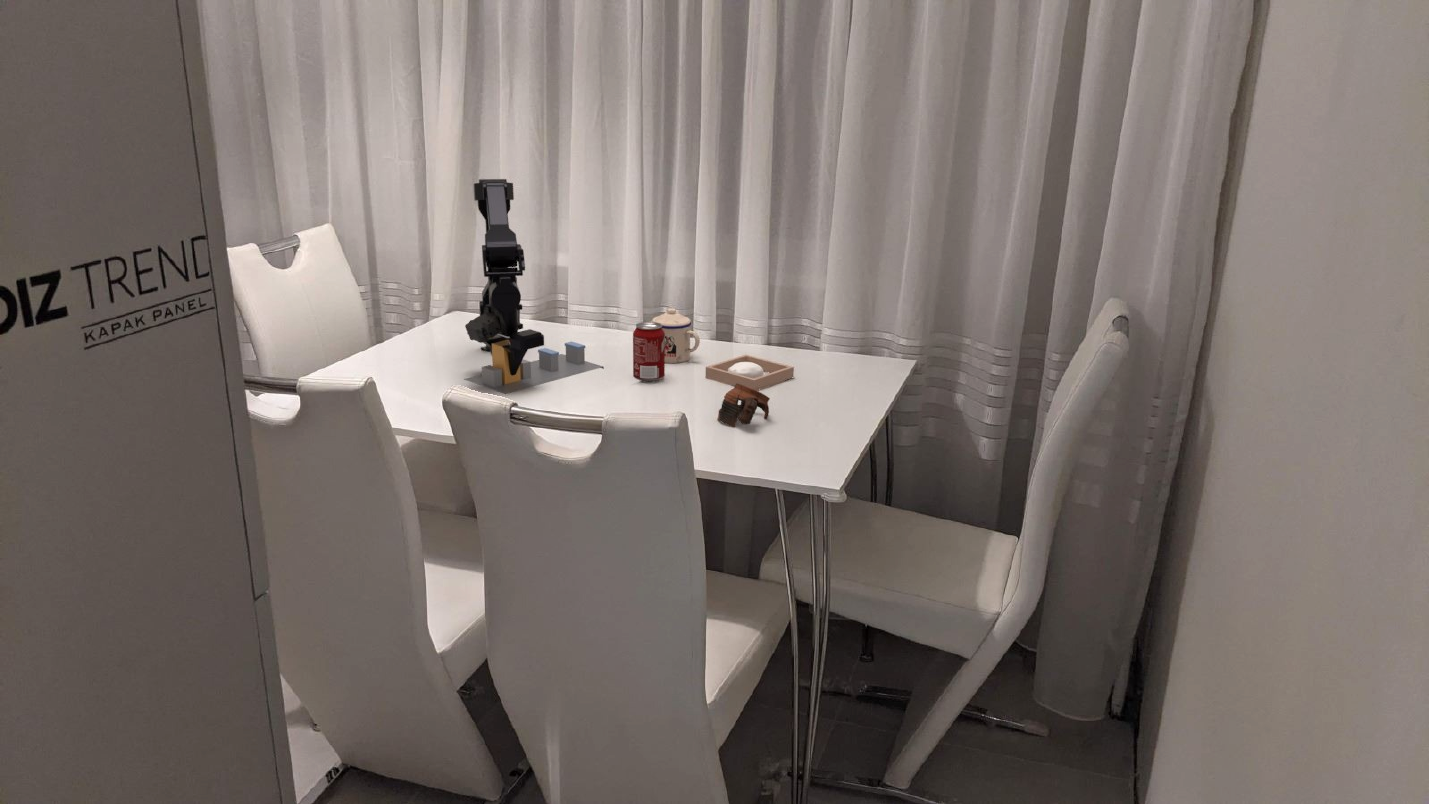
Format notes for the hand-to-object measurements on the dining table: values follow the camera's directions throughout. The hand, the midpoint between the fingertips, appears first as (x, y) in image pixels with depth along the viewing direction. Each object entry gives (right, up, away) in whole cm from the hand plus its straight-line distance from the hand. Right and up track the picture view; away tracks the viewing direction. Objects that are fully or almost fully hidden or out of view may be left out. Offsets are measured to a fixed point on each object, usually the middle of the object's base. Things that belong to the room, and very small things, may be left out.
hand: (506, 372), depth 224 cm
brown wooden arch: (+49, -10, -18) cm, 53 cm away
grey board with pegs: (+5, -1, +6) cm, 8 cm away
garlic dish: (+51, -1, +9) cm, 52 cm away
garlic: (+50, -2, +8) cm, 51 cm away
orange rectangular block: (0, -2, +1) cm, 2 cm away
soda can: (+29, -1, +7) cm, 30 cm away
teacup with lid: (+35, +3, +21) cm, 41 cm away
